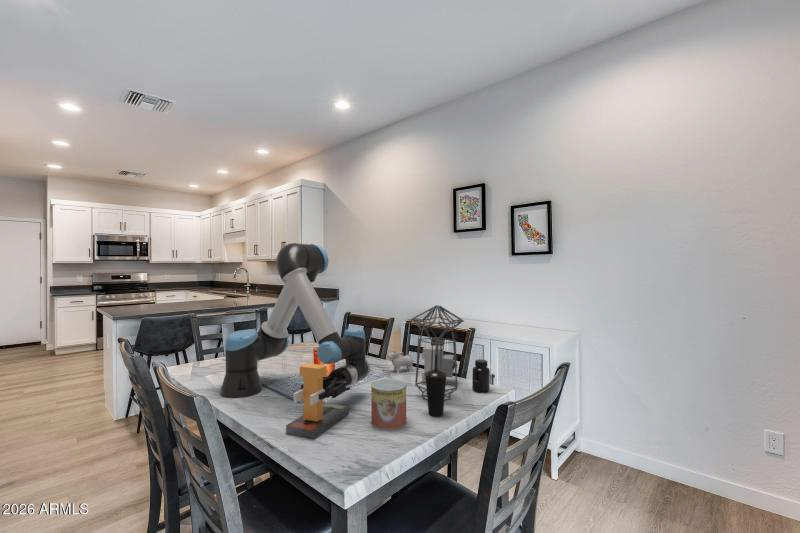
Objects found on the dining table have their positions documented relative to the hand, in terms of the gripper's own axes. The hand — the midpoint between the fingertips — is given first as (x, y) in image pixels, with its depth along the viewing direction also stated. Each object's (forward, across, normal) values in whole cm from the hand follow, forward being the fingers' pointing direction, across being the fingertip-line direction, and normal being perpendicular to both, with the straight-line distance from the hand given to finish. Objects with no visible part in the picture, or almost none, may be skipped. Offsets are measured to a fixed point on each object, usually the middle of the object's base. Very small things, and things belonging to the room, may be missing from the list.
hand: (302, 399), depth 113 cm
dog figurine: (-74, -2, -11) cm, 74 cm away
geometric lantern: (-46, -28, -10) cm, 55 cm away
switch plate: (-9, 0, -10) cm, 14 cm away
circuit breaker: (-64, -24, -10) cm, 69 cm away
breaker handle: (-5, 0, -8) cm, 9 cm away
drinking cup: (-30, -32, -11) cm, 45 cm away
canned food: (-18, -20, -11) cm, 29 cm away
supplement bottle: (-60, -42, -10) cm, 74 cm away
